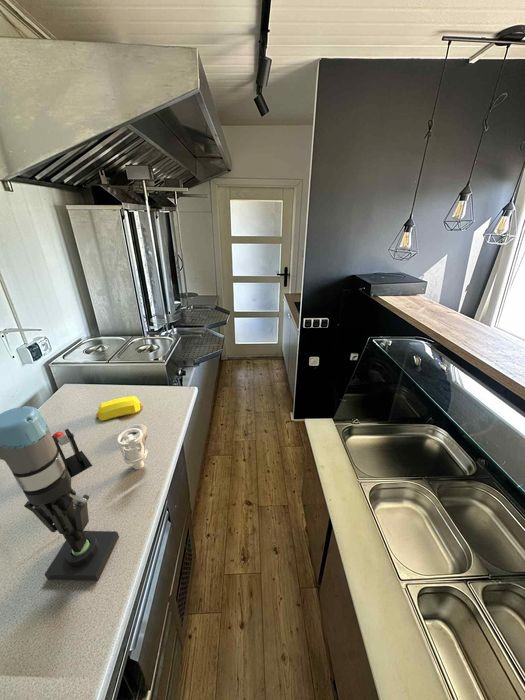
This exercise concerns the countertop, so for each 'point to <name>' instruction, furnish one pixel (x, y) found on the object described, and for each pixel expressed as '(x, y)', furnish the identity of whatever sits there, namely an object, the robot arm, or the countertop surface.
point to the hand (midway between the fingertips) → (80, 546)
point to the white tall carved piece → (133, 448)
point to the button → (84, 549)
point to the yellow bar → (118, 407)
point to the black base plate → (84, 558)
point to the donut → (139, 426)
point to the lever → (61, 438)
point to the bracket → (73, 457)
